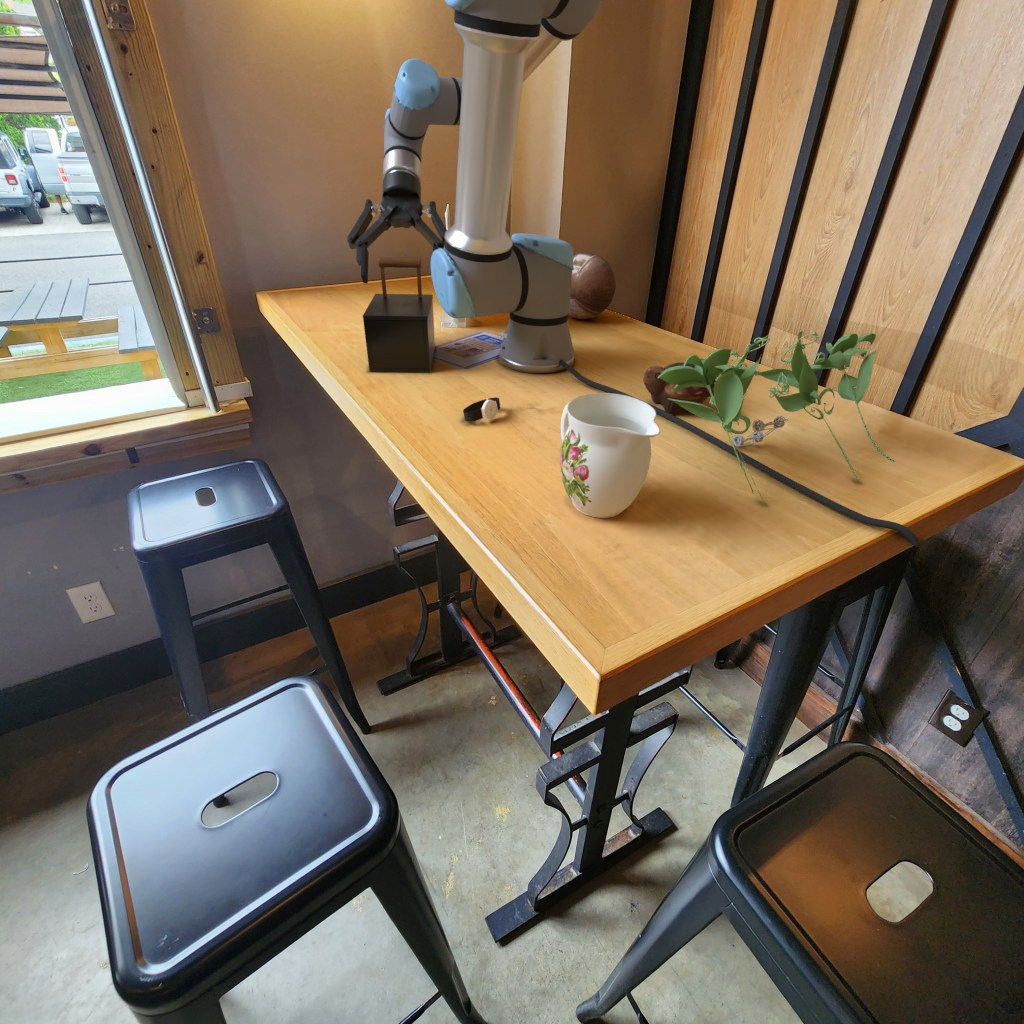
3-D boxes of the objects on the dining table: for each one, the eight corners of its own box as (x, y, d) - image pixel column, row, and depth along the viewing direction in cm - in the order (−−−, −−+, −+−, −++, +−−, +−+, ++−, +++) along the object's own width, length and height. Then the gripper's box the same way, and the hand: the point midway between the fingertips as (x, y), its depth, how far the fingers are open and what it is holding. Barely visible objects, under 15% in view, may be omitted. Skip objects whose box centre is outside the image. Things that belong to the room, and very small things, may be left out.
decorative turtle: (624, 402, 101) (633, 357, 97) (694, 397, 106) (705, 354, 102) (655, 422, 93) (666, 374, 89) (729, 416, 98) (742, 370, 94)
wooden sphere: (544, 322, 138) (548, 256, 130) (559, 306, 150) (564, 245, 141) (605, 330, 134) (613, 262, 126) (616, 313, 146) (624, 250, 138)
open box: (380, 346, 121) (375, 298, 115) (434, 347, 121) (432, 299, 116) (369, 372, 109) (363, 320, 103) (430, 372, 110) (427, 321, 104)
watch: (477, 429, 90) (477, 408, 88) (455, 420, 93) (455, 399, 91) (507, 413, 96) (507, 393, 93) (485, 405, 98) (485, 385, 96)
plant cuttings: (857, 492, 91) (801, 372, 97) (960, 446, 75) (886, 307, 81) (674, 536, 80) (622, 398, 86) (750, 493, 64) (681, 327, 70)
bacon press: (375, 297, 116) (371, 253, 111) (432, 298, 116) (430, 254, 112) (363, 320, 103) (357, 271, 98) (427, 320, 104) (424, 272, 99)
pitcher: (591, 459, 83) (602, 369, 75) (671, 526, 70) (695, 425, 62) (525, 475, 79) (530, 382, 71) (597, 549, 66) (612, 444, 58)
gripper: (465, 198, 118) (465, 292, 114) (343, 194, 116) (339, 289, 113) (464, 170, 110) (463, 269, 107) (333, 166, 109) (329, 267, 105)
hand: (399, 280), depth 110 cm, fingers open, 13 cm apart
